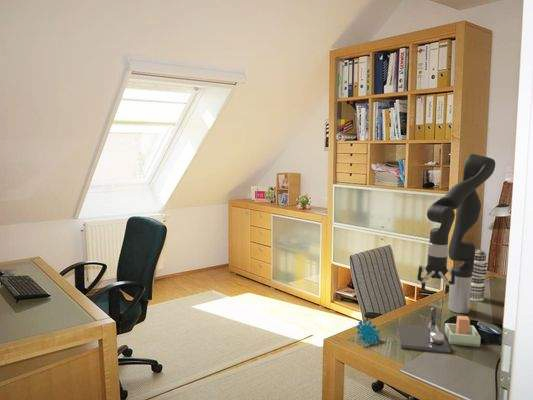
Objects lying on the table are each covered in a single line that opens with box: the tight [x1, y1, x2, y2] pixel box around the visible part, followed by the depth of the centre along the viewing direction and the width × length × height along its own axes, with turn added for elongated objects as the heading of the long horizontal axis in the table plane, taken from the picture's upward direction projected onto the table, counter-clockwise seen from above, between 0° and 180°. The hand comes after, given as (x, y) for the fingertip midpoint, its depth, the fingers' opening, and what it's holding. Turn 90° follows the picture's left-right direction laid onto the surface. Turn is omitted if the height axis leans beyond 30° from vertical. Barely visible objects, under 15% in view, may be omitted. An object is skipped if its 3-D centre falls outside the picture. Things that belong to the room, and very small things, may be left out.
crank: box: [428, 306, 445, 344], centre depth 176 cm, size 16×5×9 cm, turn 167°
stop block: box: [455, 315, 471, 335], centre depth 177 cm, size 4×4×8 cm
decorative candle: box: [470, 249, 488, 302], centre depth 225 cm, size 9×9×25 cm
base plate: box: [395, 323, 452, 354], centre depth 177 cm, size 20×18×2 cm
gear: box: [355, 319, 382, 346], centre depth 175 cm, size 11×6×10 cm
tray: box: [444, 322, 481, 347], centre depth 177 cm, size 11×11×4 cm
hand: (434, 292), depth 182 cm, fingers open, 8 cm apart
